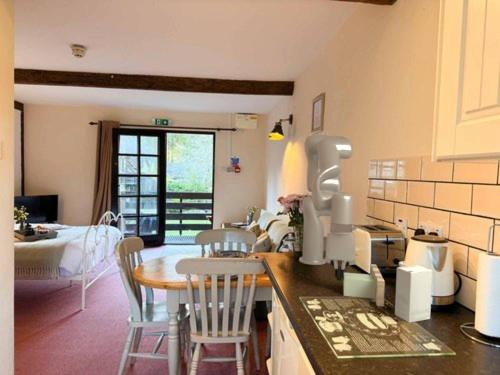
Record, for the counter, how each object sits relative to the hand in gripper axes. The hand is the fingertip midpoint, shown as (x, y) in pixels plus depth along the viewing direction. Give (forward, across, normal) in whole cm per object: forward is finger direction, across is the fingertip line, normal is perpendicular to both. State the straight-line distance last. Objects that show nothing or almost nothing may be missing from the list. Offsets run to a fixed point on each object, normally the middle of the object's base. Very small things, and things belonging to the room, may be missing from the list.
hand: (339, 279), depth 125 cm
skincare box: (+4, -21, +17) cm, 28 cm away
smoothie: (+4, -24, -11) cm, 27 cm away
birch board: (+4, -13, 0) cm, 13 cm away
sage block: (+4, -7, 0) cm, 8 cm away
